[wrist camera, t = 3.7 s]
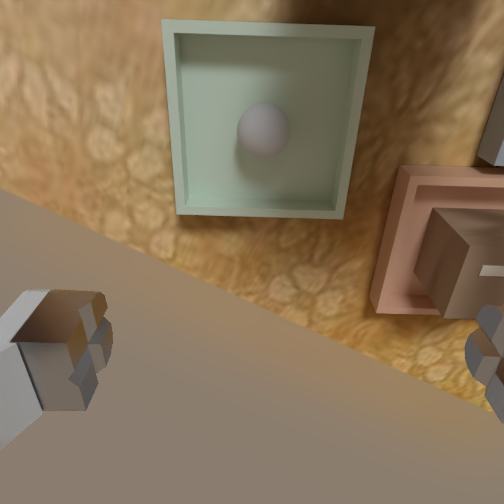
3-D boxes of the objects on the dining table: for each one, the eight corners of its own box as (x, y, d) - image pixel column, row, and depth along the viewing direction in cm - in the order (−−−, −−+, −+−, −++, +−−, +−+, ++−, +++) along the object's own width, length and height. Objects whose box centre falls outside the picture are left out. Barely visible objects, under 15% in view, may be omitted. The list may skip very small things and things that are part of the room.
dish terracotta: (562, 169, 26) (586, 181, 24) (502, 299, 32) (518, 317, 30) (399, 164, 26) (410, 175, 24) (368, 296, 32) (376, 313, 30)
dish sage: (365, 26, 22) (375, 26, 20) (337, 206, 28) (343, 219, 26) (169, 19, 22) (161, 19, 20) (182, 201, 28) (176, 214, 26)
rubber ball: (290, 99, 23) (294, 109, 21) (286, 151, 25) (290, 167, 22) (238, 97, 23) (236, 107, 21) (237, 149, 25) (235, 165, 22)
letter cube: (510, 209, 27) (564, 249, 22) (483, 273, 30) (527, 321, 25) (432, 207, 27) (470, 246, 22) (413, 271, 30) (443, 319, 25)
